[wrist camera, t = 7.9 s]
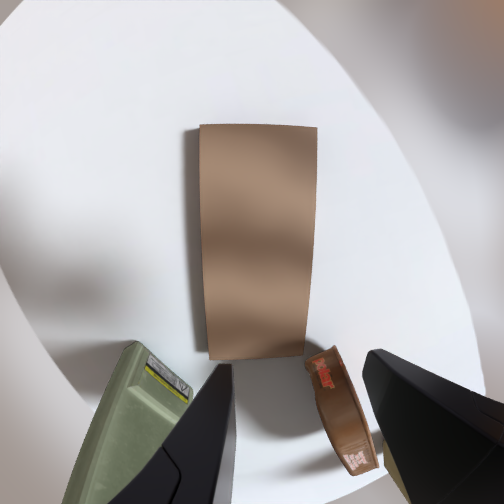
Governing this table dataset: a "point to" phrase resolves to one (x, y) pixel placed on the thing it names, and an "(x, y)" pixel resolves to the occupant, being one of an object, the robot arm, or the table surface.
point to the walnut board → (257, 237)
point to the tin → (341, 412)
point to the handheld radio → (127, 426)
